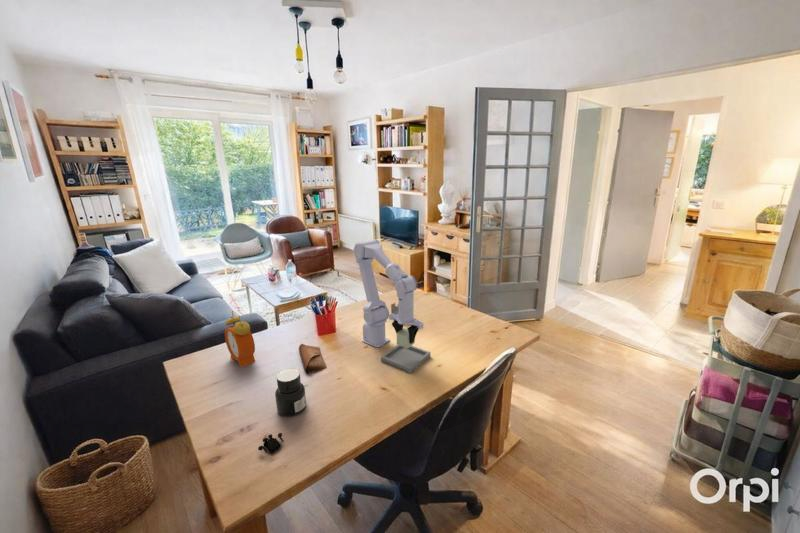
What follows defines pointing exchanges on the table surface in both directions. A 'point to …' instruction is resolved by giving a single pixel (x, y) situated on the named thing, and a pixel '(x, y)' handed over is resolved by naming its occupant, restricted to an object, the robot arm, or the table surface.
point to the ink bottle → (290, 393)
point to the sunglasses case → (311, 358)
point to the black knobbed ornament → (271, 443)
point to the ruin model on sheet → (394, 309)
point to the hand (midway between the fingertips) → (405, 340)
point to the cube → (403, 338)
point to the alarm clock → (240, 341)
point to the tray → (405, 358)
